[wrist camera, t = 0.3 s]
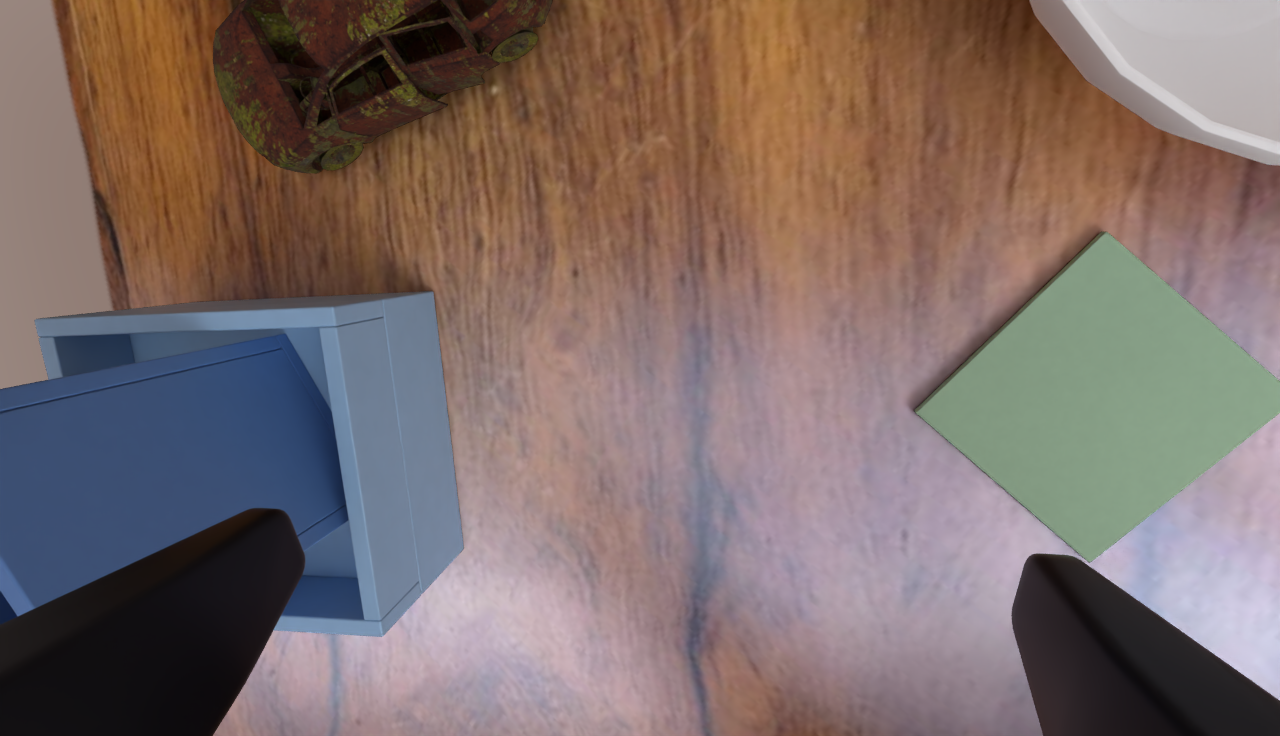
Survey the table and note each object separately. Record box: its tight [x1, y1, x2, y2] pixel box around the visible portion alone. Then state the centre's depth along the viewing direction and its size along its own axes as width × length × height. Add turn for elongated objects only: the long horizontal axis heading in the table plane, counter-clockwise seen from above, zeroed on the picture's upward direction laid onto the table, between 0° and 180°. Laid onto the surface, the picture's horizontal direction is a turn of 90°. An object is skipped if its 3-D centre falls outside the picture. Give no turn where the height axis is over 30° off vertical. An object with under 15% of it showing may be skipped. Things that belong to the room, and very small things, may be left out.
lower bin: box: [35, 291, 464, 637], centre depth 23 cm, size 11×11×6 cm
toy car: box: [213, 0, 552, 174], centre depth 20 cm, size 12×7×5 cm, turn 116°
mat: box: [914, 232, 1280, 563], centre depth 20 cm, size 8×8×1 cm
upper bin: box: [0, 334, 349, 624], centre depth 17 cm, size 7×7×10 cm
